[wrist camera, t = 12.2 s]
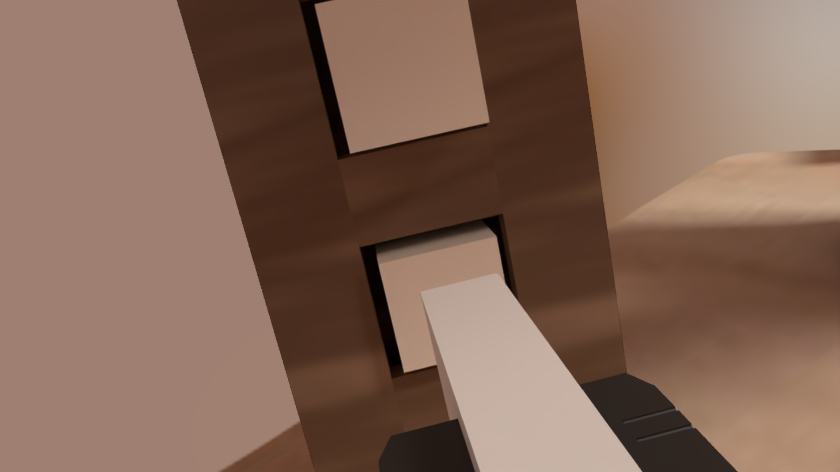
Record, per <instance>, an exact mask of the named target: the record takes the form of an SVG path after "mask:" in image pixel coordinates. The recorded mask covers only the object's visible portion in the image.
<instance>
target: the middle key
mask: <svg viewBox="0 0 840 472" xmlns="http://www.w3.org/2000/svg"><path fill="white" fill-rule="evenodd" d="M315 9H316V13H317V17H318V21H319V25H320V29H321V34H322V38H323V42H324V46H325V50H326V54H327V59H328V63H329V67H330V71H331V75H332V79H333V84H334V88H335V92H336V96H337V100H338V104H339V109H340V113H341V117H342V121H343V125H344V129H345V134H346V138H347V142H348V146H349V150H350V154H351V153H355V152H360V151H364V150H368V149H373V148H377V147H382V146H386V145H391V144H395V143H399V142H404V141H408V140H413V139H417V138H422V137H426V136H431V135H435V134H439V133H444V132H448V131H453V130H457V129H462V128H466V127H470V126H475V125H479V124H484V123H488V122H489V116H488V111H487V105H486V99H485V94H484V88H483V83H482V77H481V72H480V66H479V60H478V55H477V49H476V44H475V38H474V32H473V27H472V21H471V16H470V10H469V5H468V0H332V1H328V2H323V3H318V4H315Z"/></svg>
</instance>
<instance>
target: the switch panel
mask: <svg viewBox="0 0 840 472" xmlns="http://www.w3.org/2000/svg"><path fill="white" fill-rule="evenodd" d="M328 1H332V0H177V2H178V6H179V9H180V13H181V16H182V19H183V23H184V26H185V30H186V33H187V36H188V40H189V43H190V46H191V50H192V54H193V57H194V60H195V64H196V67H197V70H198V74H199V77H200V80H201V84H202V87H203V91H204V94H205V98H206V101H207V104H208V108H209V111H210V115H211V118H212V122H213V125H214V129H215V132H216V135H217V139H218V142H219V146H220V149H221V152H222V156H223V159H224V163H225V166H226V169H227V173H228V176H229V179H230V183H231V186H232V190H233V193H234V197H235V200H236V203H237V207H238V210H239V214H240V217H241V220H242V224H243V227H244V231H245V234H246V238H247V241H248V244H249V248H250V251H251V255H252V258H253V261H254V265H255V268H256V271H257V275H258V278H259V282H260V285H261V289H262V292H263V295H264V299H265V302H266V306H267V309H268V313H269V316H270V319H271V323H272V326H273V329H274V333H275V336H276V340H277V343H278V346H279V350H280V353H281V357H282V360H283V364H284V367H285V370H286V374H287V377H288V380H289V384H290V388H291V391H292V394H293V397H294V401H295V405H296V408H297V411H298V415H299V418H300V422H301V425H302V428H303V432H304V435H305V439H306V442H307V445H308V449H309V452H310V456H311V459H312V462H313V466H314V469H315V472H379V459H380V457H381V455H382V453H383V450H384V448H385V446H386V444H387V442H388V440H389V438H390V436H392V435H396V434H400V433H403V432H407V431H411V430H415V429H419V428H423V427H427V426H431V425H434V424H438V423H442V422H446V421H450V419H449V415H448V410H447V406H446V402H445V398H444V393H443V389H442V385H441V380H440V376H439V372H438V367H437V365H433V366H429V367H425V368H421V369H417V370H413V371H409V372H405V373H404V370H403V366H402V361H401V357H400V353H399V349H398V345H397V341H396V336H395V332H394V328H393V324H392V320H391V315H390V311H389V307H388V303H387V299H386V295H385V290H384V286H383V282H382V278H381V274H380V269H379V265H378V260H377V254H376V248H375V243H379V242H384V241H388V240H392V239H396V238H401V237H405V236H409V235H414V234H418V233H422V232H426V231H431V230H435V229H439V228H443V227H448V226H452V225H456V224H461V223H465V222H469V221H473V220H478V219H481V220H482V221H483V222H484V223H485V224H486V225H487V226H488V227H489V229H490V230H491V231H492V232H493V233H494V234H495V235H496V236H497V242H498V247H499V252H500V258H501V263H502V269H503V274H504V279H505V284H506V286H507V287H508V288H509V290H510V291H511V293H512V294H513V295H514V297H515V298H516V299H517V301H518V302H519V304H520V305H521V306H522V308H523V309H524V310H525V312H526V313H527V314H528V316H529V317H530V319H531V320H532V321H533V323H534V324H535V325H536V327H537V328H538V330H539V331H540V332H541V334H542V335H543V336H544V338H545V339H546V341H547V342H548V343H549V345H550V346H551V347H552V349H553V350H554V351H555V353H556V354H557V356H558V357H559V358H560V360H561V361H562V362H563V364H564V365H565V367H566V368H567V369H568V371H569V372H570V373H571V375H572V376H573V378H574V379H575V380H576V382H577V383H578V384H579V385H580V384H584V383H587V382H591V381H595V380H599V379H603V378H607V377H611V376H615V375H619V374H622V373H627V371H626V364H625V356H624V349H623V342H622V334H621V327H620V320H619V312H618V305H617V298H616V290H615V283H614V276H613V269H612V261H611V254H610V247H609V239H608V232H607V225H606V218H605V210H604V203H603V196H602V188H601V181H600V173H599V166H598V159H597V152H596V145H595V137H594V130H593V122H592V115H591V108H590V101H589V93H588V86H587V78H586V71H585V64H584V57H583V49H582V42H581V34H580V27H579V20H578V12H577V5H576V0H468V5H469V10H470V16H471V21H472V27H473V32H474V38H475V44H476V49H477V55H478V60H479V66H480V72H481V77H482V83H483V88H484V94H485V99H486V105H487V111H488V116H489V122H488V123H484V124H479V125H475V126H470V127H466V128H462V129H457V130H453V131H448V132H444V133H439V134H435V135H431V136H426V137H422V138H417V139H413V140H408V141H404V142H399V143H395V144H391V145H386V146H382V147H377V148H373V149H368V150H364V151H360V152H355V153H351V154H350V150H349V146H348V142H347V138H346V134H345V129H344V125H343V121H342V117H341V113H340V109H339V104H338V100H337V96H336V92H335V88H334V84H333V79H332V75H331V71H330V67H329V63H328V59H327V54H326V50H325V46H324V42H323V38H322V34H321V29H320V25H319V21H318V17H317V13H316V9H315V4H318V3H323V2H328Z"/></svg>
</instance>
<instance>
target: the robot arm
mask: <svg viewBox="0 0 840 472" xmlns="http://www.w3.org/2000/svg"><path fill="white" fill-rule="evenodd" d="M420 294H421V298H422V303H423V307H424V311H425V316H426V320H427V324H428V329H429V333H430V337H431V341H432V346H433V350H434V354H435V359H436V363H437V367H438V372H439V376H440V380H441V385H442V389H443V393H444V398H445V402H446V406H447V410H448V415H449V419H450V421H446V422H442V423H438V424H434V425H431V426H427V427H423V428H419V429H415V430H411V431H407V432H403V433H400V434H396V435H392V436H390V438H389V440H388V442H387V444H386V446H385V448H384V450H383V453H382V455H381V457H380V459H379V472H737V471H736V470H735V469H734V468H733V467H732V465H731V464H730V463H729V462H728V461H727V460H726V459H725V458H724V457H723V456H722V455H721V454H720V453H719V452H718V451H717V450H716V449H715V448H714V447H713V446H712V445H711V444H710V443H709V442H708V441H707V439H706V438H705V437H704V436H703V435H702V434H701V433H700V432H699V431H698V430H697V429H696V428H694V429H693V427H692V425H691V423H690V422H689V421H688V420H687V419H686V418H685V417H684V416H683V415H682V413H681V412H680V411H679V410H678V411H676V409H675V406H674V405H673V404H672V403H671V402H670V401H669V400H668V399H667V398H666V397H665V396H664V395H663V394H662V393H661V392H660V391H659V390H658V388H657V387H656V386H654V385H652V384H649V383H647V382H645V381H643V380H640V379H638V378H636V377H634V376H632V375H629V374H627V373H622V374H619V375H615V376H611V377H607V378H603V379H599V380H595V381H591V382H587V383H584V384H580V385H579V384H578V383H577V382H576V380H575V379H574V378H573V376H572V375H571V373H570V372H569V371H568V369H567V368H566V367H565V365H564V364H563V362H562V361H561V360H560V358H559V357H558V356H557V354H556V353H555V351H554V350H553V349H552V347H551V346H550V345H549V343H548V342H547V341H546V339H545V338H544V336H543V335H542V334H541V332H540V331H539V330H538V328H537V327H536V325H535V324H534V323H533V321H532V320H531V319H530V317H529V316H528V314H527V313H526V312H525V310H524V309H523V308H522V306H521V305H520V304H519V302H518V301H517V299H516V298H515V297H514V295H513V294H512V293H511V291H510V290H509V288H508V287H507V286H506V284H505V283H504V282H503V280H502V279H501V277H500V276H499V275H498V273H495V274H491V275H487V276H483V277H479V278H475V279H471V280H467V281H463V282H458V283H454V284H450V285H446V286H442V287H438V288H434V289H430V290H426V291H422V292H420Z"/></svg>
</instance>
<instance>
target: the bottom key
mask: <svg viewBox="0 0 840 472" xmlns="http://www.w3.org/2000/svg"><path fill="white" fill-rule="evenodd" d="M375 248H376V254H377V260H378V265H379V269H380V274H381V278H382V282H383V286H384V290H385V295H386V299H387V303H388V307H389V311H390V315H391V320H392V324H393V328H394V332H395V336H396V341H397V345H398V349H399V353H400V357H401V361H402V366H403V370H404V373H405V372H409V371H413V370H417V369H421V368H425V367H429V366H433V365H437V363H436V359H435V354H434V350H433V346H432V341H431V337H430V333H429V329H428V324H427V320H426V316H425V311H424V307H423V303H422V298H421V294H420V292H422V291H426V290H430V289H434V288H438V287H442V286H446V285H450V284H454V283H458V282H463V281H467V280H471V279H475V278H479V277H483V276H487V275H491V274H495V273H498V275H499V276H500V277H501V279H502V280H503V282H504V283H505V279H504V274H503V269H502V263H501V258H500V252H499V247H498V242H497V236H496V235H495V234H494V233H493V232H492V231H491V230H490V229H489V227H488V226H487V225H486V224H485V223H484V222H483V221H482V220H481V219H478V220H473V221H469V222H465V223H461V224H456V225H452V226H448V227H443V228H439V229H435V230H431V231H426V232H422V233H418V234H414V235H409V236H405V237H401V238H396V239H392V240H388V241H384V242H379V243H375Z"/></svg>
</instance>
